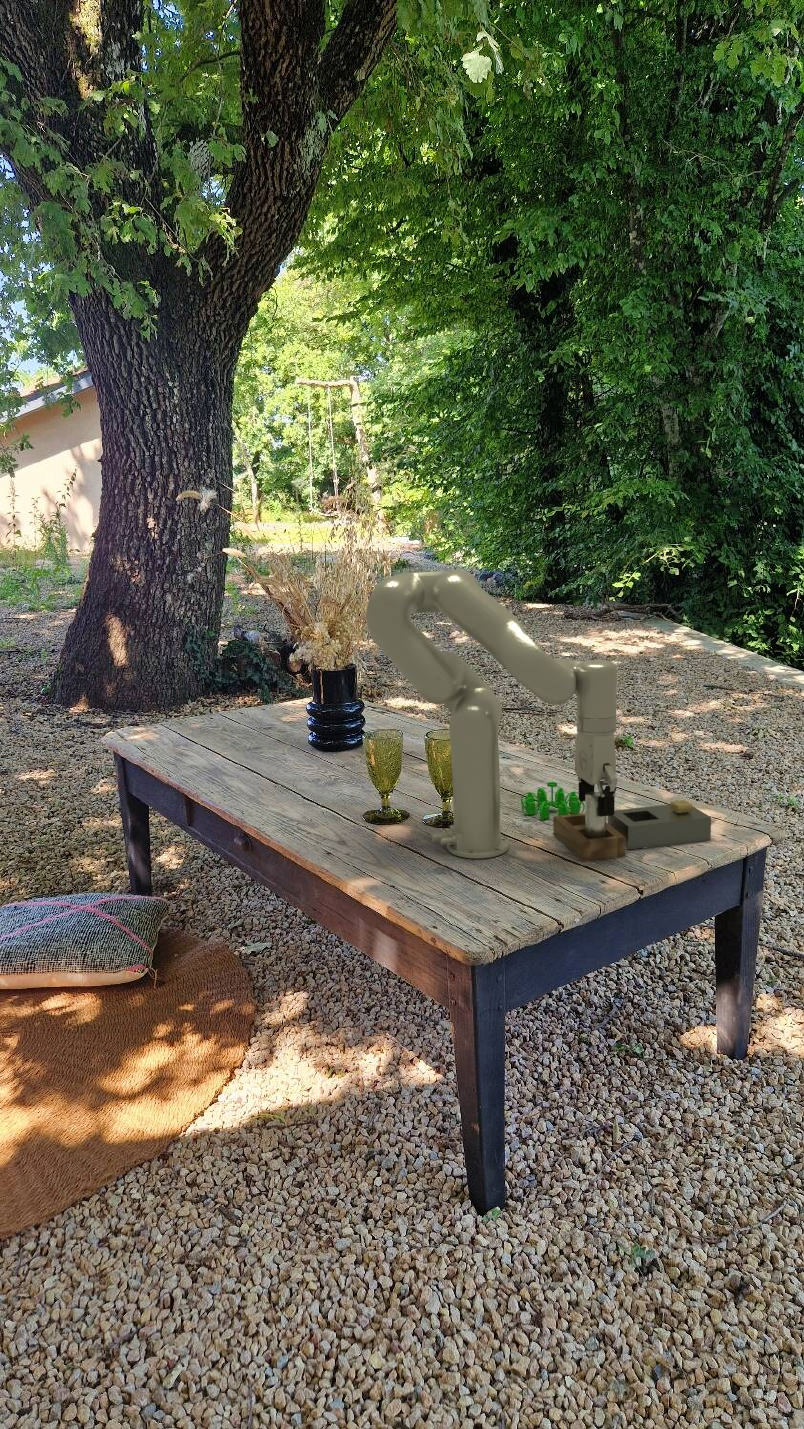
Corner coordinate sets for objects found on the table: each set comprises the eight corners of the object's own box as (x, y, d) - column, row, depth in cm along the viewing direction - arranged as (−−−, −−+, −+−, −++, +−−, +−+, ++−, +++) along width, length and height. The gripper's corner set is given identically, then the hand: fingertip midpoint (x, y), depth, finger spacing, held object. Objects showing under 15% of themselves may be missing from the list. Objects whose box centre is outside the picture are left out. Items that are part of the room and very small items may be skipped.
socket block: (628, 850, 182) (628, 826, 181) (607, 833, 191) (607, 811, 190) (710, 840, 185) (711, 817, 184) (686, 824, 195) (686, 802, 193)
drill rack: (582, 861, 177) (582, 842, 176) (553, 834, 192) (553, 816, 191) (625, 856, 178) (625, 837, 178) (593, 829, 194) (593, 812, 193)
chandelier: (574, 827, 197) (574, 796, 195) (509, 819, 204) (509, 789, 202) (593, 806, 210) (593, 777, 208) (532, 799, 217) (532, 771, 215)
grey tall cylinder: (589, 856, 179) (590, 798, 177) (582, 849, 183) (582, 792, 180) (608, 854, 180) (609, 796, 177) (600, 847, 184) (601, 791, 181)
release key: (677, 836, 187) (677, 806, 186) (669, 831, 190) (670, 801, 189) (691, 834, 188) (692, 804, 186) (683, 829, 191) (684, 800, 189)
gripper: (562, 716, 183) (562, 796, 187) (596, 735, 167) (595, 823, 171) (596, 713, 185) (596, 793, 188) (634, 732, 168) (632, 819, 172)
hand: (596, 807), depth 180 cm, fingers open, 9 cm apart
